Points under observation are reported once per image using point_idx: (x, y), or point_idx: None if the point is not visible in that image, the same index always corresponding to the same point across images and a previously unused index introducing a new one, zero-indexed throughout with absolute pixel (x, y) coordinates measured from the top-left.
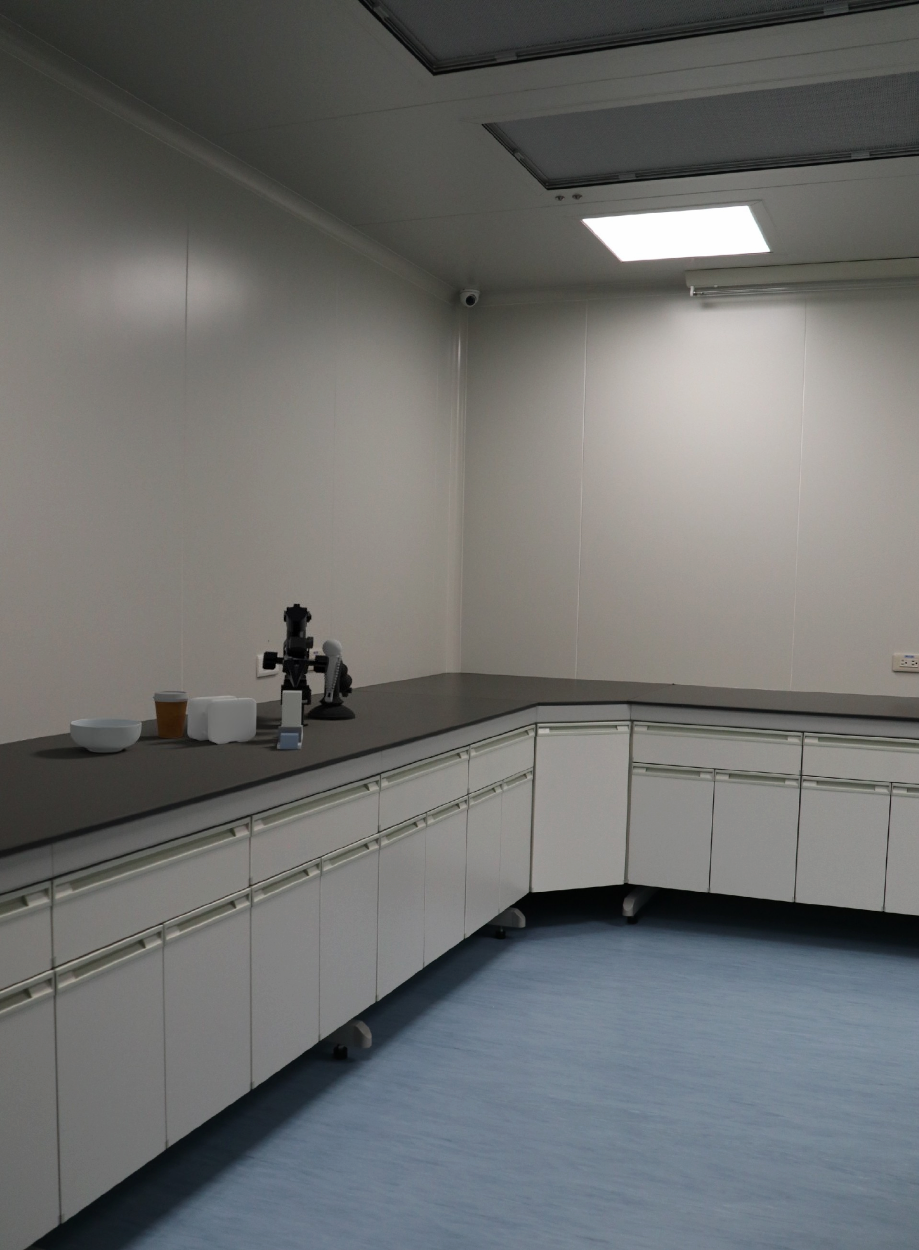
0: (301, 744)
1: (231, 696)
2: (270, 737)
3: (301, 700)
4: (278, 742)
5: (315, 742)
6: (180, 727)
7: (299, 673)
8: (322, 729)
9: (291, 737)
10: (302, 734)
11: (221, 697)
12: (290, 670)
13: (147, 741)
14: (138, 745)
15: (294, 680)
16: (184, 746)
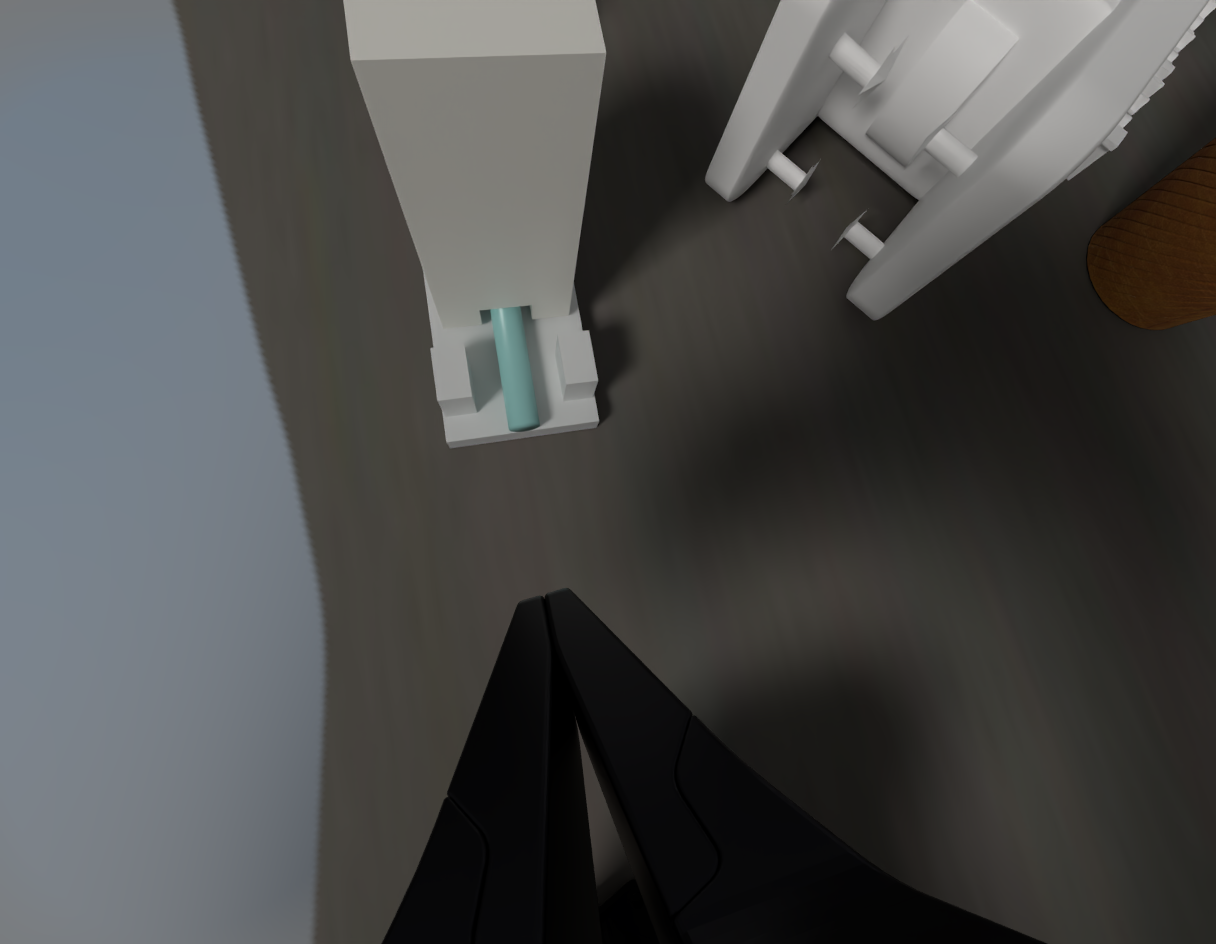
0: None
1: (1078, 72)
2: (640, 332)
3: (384, 150)
4: None
5: (326, 183)
6: (1138, 210)
7: (475, 825)
8: (340, 818)
9: None
10: (431, 323)
11: (1124, 14)
12: (765, 797)
13: (1154, 121)
14: None
15: (576, 635)
16: None
